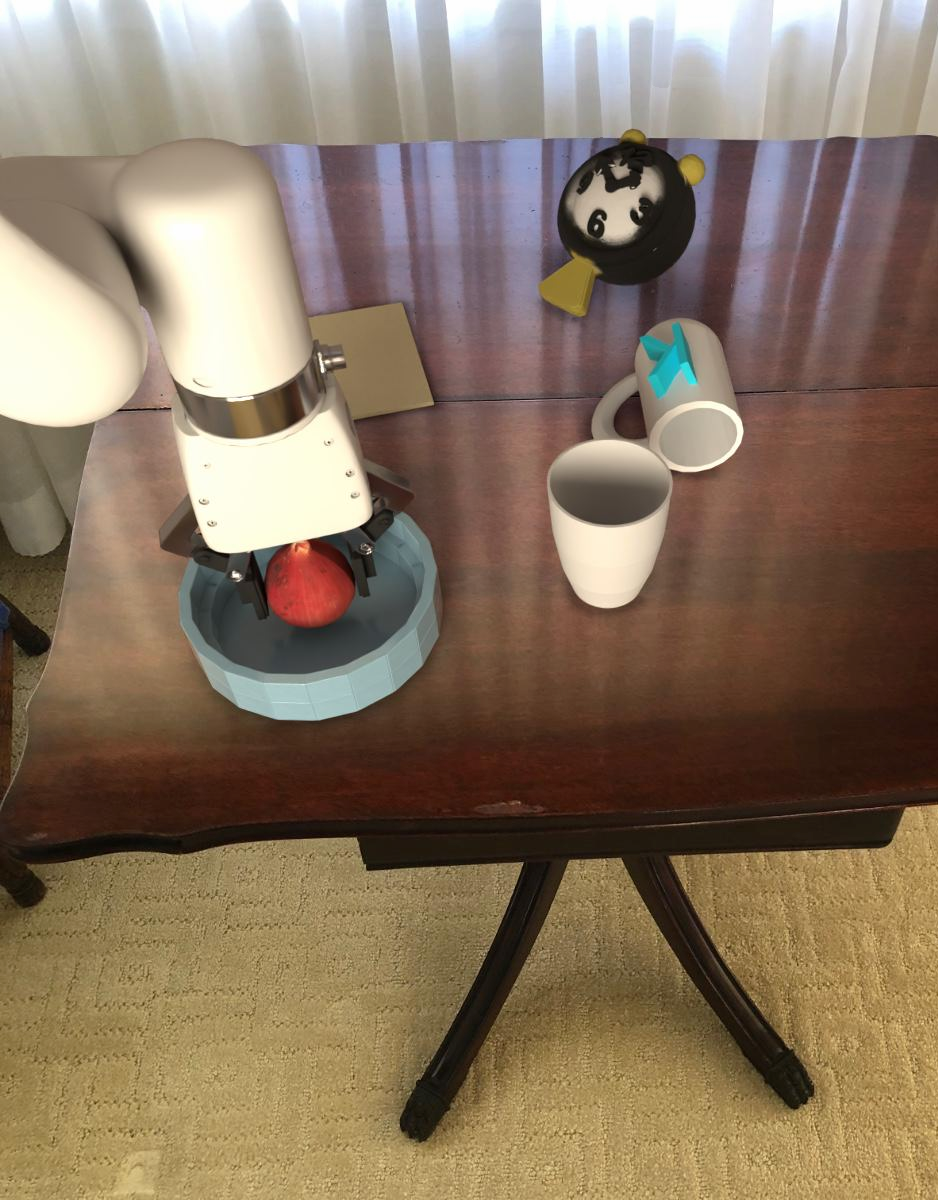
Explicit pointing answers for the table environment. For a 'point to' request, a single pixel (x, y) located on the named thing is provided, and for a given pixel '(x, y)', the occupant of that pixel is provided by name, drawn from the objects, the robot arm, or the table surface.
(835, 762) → the table surface
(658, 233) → the alarm clock
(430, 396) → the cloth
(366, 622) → the pan
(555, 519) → the cup
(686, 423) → the mug
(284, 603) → the onion
